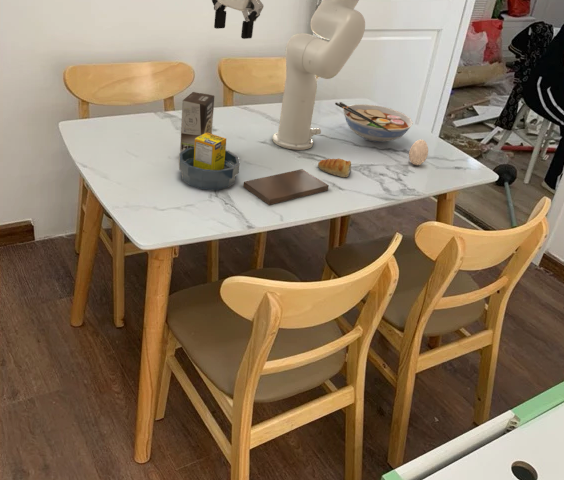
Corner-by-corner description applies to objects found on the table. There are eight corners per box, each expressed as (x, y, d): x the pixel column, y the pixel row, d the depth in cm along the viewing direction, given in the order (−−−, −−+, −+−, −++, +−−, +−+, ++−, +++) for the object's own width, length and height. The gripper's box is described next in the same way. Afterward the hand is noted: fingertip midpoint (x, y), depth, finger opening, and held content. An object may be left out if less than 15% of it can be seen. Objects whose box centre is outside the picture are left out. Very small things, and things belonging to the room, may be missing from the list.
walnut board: (301, 173, 168) (302, 168, 167) (327, 190, 161) (328, 185, 160) (243, 186, 156) (243, 181, 155) (269, 205, 150) (269, 199, 149)
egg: (413, 159, 188) (419, 135, 183) (427, 166, 185) (434, 141, 180) (402, 163, 184) (409, 138, 180) (417, 169, 181) (424, 144, 177)
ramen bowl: (424, 148, 197) (431, 124, 192) (372, 157, 185) (378, 131, 180) (373, 121, 213) (379, 98, 208) (323, 127, 201) (327, 103, 196)
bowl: (216, 162, 167) (217, 143, 164) (248, 184, 158) (250, 165, 155) (167, 171, 158) (168, 151, 155) (199, 195, 149) (200, 175, 146)
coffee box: (201, 162, 165) (205, 104, 156) (179, 158, 166) (181, 100, 157) (211, 151, 173) (215, 95, 164) (190, 146, 173) (192, 90, 164)
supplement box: (223, 177, 159) (227, 137, 153) (212, 185, 155) (215, 144, 149) (204, 170, 161) (206, 131, 155) (192, 178, 156) (194, 138, 150)
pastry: (315, 172, 170) (317, 159, 168) (319, 163, 176) (321, 151, 174) (348, 179, 169) (351, 166, 167) (351, 170, 175) (353, 157, 173)
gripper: (278, -37, 139) (268, 41, 148) (226, -51, 148) (220, 23, 157) (255, -38, 134) (246, 43, 143) (203, -52, 143) (198, 25, 152)
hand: (232, 33), depth 150 cm, fingers open, 9 cm apart
